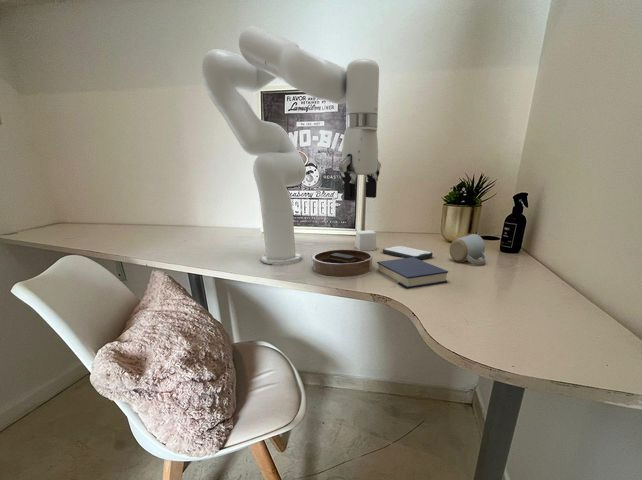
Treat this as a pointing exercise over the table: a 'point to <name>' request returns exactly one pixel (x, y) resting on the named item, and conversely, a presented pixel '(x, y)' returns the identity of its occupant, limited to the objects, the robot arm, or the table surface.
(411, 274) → the book
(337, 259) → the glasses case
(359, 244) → the white cube
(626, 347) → the table surface
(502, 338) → the table surface
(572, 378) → the table surface
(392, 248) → the phone case
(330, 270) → the bowl
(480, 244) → the ceramic mug
